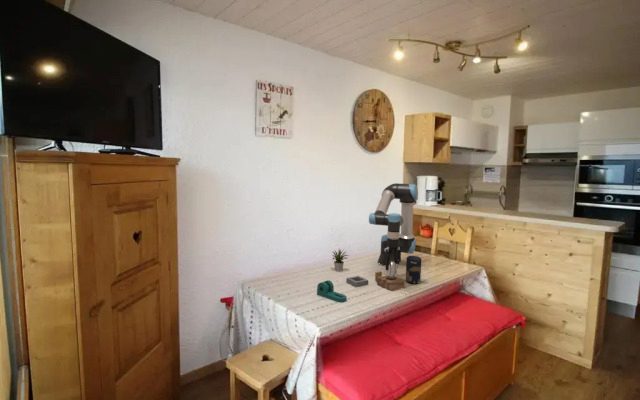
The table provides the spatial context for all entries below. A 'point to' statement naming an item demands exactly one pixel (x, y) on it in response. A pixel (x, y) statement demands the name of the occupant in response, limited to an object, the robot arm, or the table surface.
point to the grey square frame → (357, 281)
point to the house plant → (339, 260)
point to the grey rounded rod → (392, 270)
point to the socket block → (391, 283)
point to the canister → (413, 269)
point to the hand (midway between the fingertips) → (391, 274)
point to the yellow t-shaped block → (378, 275)
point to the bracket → (330, 292)
